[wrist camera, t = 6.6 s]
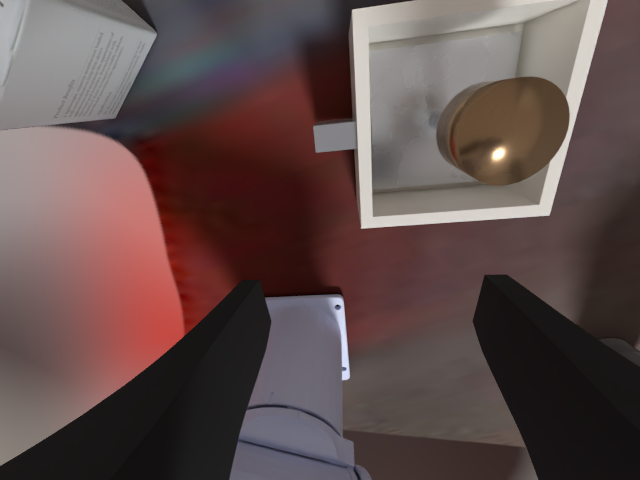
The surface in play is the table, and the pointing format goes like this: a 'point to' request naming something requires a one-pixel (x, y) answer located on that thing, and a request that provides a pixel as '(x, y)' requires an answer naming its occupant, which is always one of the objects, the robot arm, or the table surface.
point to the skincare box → (67, 60)
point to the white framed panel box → (533, 60)
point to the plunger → (460, 114)
